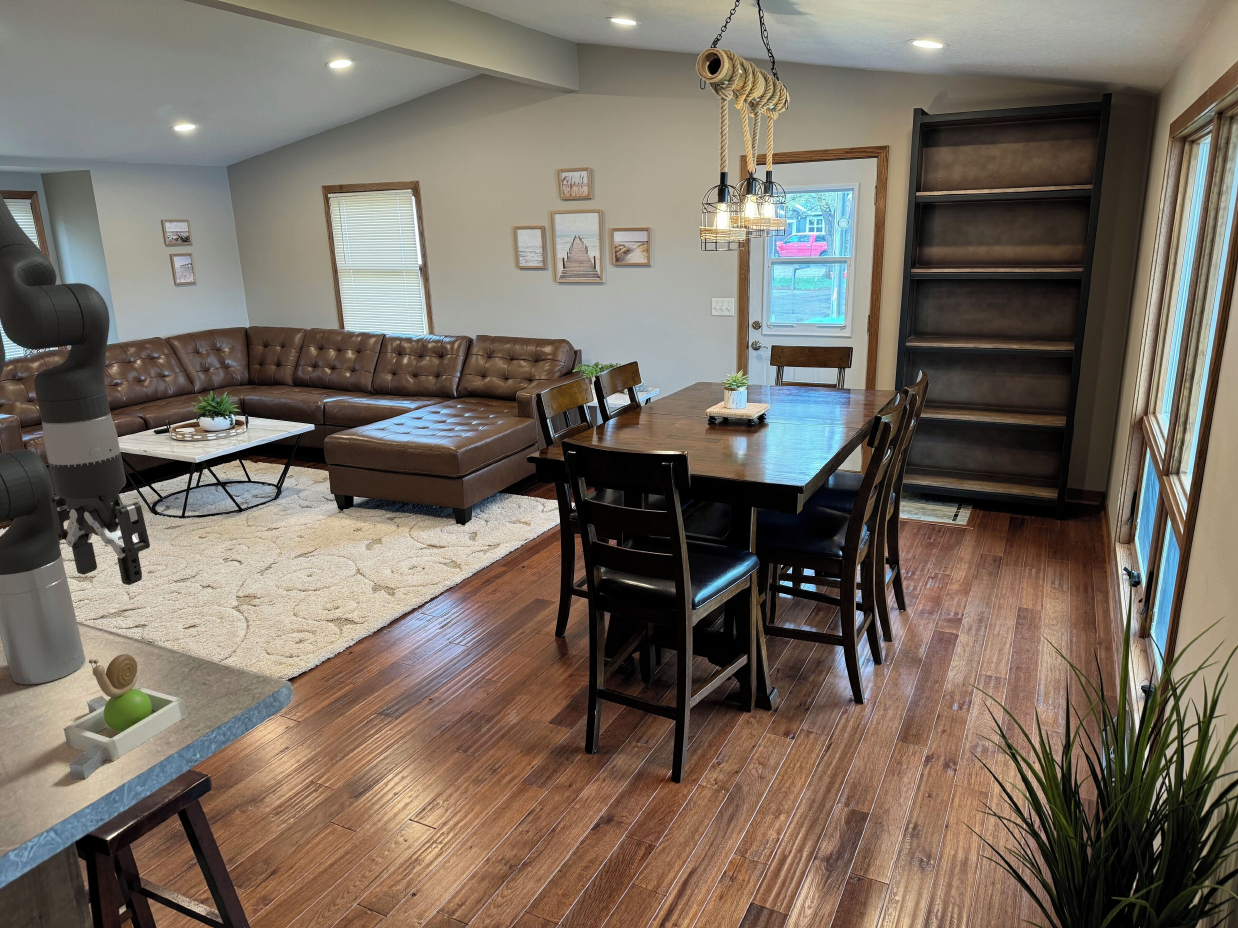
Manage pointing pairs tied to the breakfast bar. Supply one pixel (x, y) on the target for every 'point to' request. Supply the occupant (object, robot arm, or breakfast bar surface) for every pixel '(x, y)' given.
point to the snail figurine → (122, 693)
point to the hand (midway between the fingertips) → (109, 577)
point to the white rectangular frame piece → (112, 749)
